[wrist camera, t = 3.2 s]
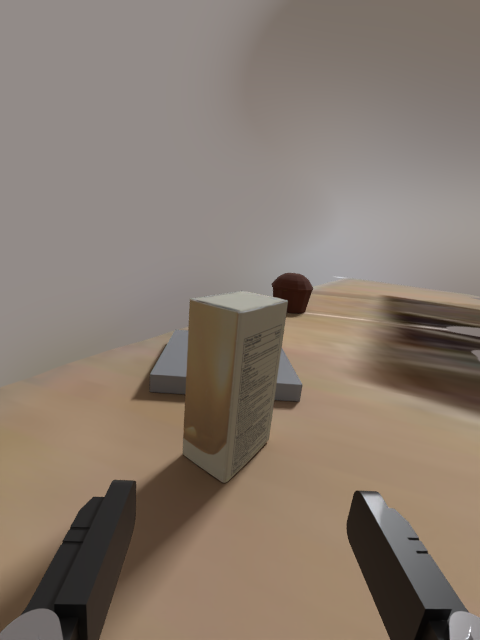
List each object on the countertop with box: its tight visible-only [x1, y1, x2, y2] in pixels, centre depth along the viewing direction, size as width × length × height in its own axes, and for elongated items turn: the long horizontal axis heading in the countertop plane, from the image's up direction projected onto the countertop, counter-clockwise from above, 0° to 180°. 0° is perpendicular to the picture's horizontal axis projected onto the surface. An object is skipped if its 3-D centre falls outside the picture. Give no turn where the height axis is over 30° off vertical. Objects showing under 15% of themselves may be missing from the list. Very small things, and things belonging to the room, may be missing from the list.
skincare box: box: [183, 291, 288, 483], centre depth 21 cm, size 6×4×12 cm
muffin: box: [272, 273, 313, 313], centre depth 79 cm, size 12×11×10 cm
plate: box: [150, 330, 302, 402], centre depth 38 cm, size 16×16×2 cm
